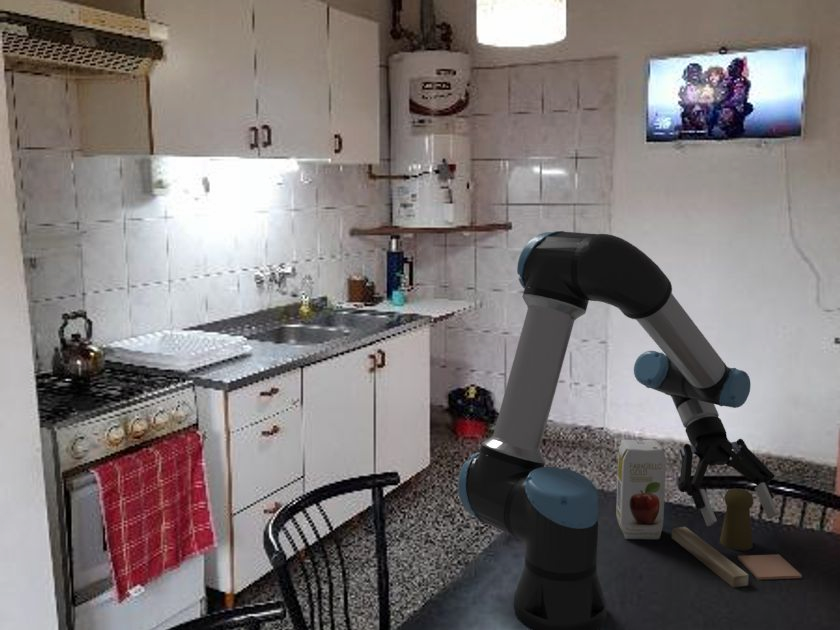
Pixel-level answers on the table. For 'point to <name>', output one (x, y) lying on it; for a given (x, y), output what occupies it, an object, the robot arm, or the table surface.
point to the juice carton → (641, 489)
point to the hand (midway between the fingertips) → (743, 520)
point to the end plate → (769, 567)
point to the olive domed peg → (737, 520)
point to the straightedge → (710, 557)
